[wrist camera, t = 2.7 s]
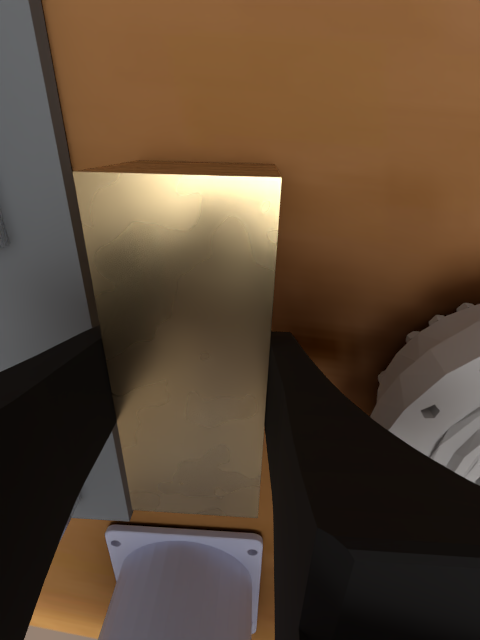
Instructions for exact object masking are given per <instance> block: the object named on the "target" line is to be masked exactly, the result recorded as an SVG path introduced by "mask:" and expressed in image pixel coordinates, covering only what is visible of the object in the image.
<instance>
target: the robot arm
mask: <svg viewBox="0 0 480 640" xmlns="http://www.w3.org/2000/svg"><path fill="white" fill-rule="evenodd" d="M116 422H117V420H116V414H115V409H114V403H113V397H112V392H111V386H110V380H109V375H108V369H107V363H106V358H105V352H104V346H103V341H102V335H101V330H100V325H98V326H96V327H93V328H91V329H89V330H86V331H84V332H82V333H80V334H78V335H76V336H74V337H72V338H70V339H68V340H66V341H64V342H62V343H60V344H58V345H56V346H54V347H52V348H50V349H48V350H46V351H44V352H42V353H40V354H38V355H36V356H34V357H32V358H29V359H27V360H25V361H23V362H21V363H19V364H16V365H14V366H12V367H10V368H8V369H6V370H3V371H1V372H0V640H24V638H25V635H26V632H27V629H28V626H29V623H30V621H31V618H32V615H33V612H34V609H35V606H36V603H37V601H38V598H39V595H40V592H41V589H42V586H43V583H44V581H45V578H46V576H47V573H48V570H49V568H50V565H51V562H52V560H53V557H54V554H55V552H56V549H57V547H58V544H59V541H60V539H61V536H62V534H63V531H64V529H65V526H66V524H67V521H68V519H69V517H70V514H71V512H72V509H73V507H74V504H75V502H76V500H77V497H78V495H79V493H80V491H81V489H82V487H83V485H84V483H85V481H86V479H87V477H88V475H89V473H90V472H91V470H92V468H93V466H94V464H95V462H96V460H97V458H98V457H99V455H100V453H101V451H102V449H103V447H104V445H105V443H106V441H107V440H108V438H109V436H110V434H111V432H112V430H113V428H114V426H115V424H116ZM264 425H265V434H266V444H267V453H268V462H269V471H270V480H271V489H272V500H273V522H274V591H275V640H480V486H479V485H477V484H475V483H473V482H471V481H469V480H468V479H466V478H464V477H462V476H460V475H459V474H457V473H455V472H453V471H452V470H450V469H448V468H446V467H445V466H443V465H441V464H440V463H438V462H436V461H434V460H433V459H431V458H429V457H428V456H426V455H424V454H423V453H421V452H420V451H418V450H416V449H415V448H413V447H412V446H410V445H409V444H407V443H406V442H404V441H403V440H401V439H400V438H398V437H397V436H395V435H394V434H393V433H391V432H390V431H388V430H387V429H385V428H384V427H383V426H381V425H380V424H379V423H377V422H376V421H375V420H373V419H372V418H371V417H369V416H368V415H367V414H366V413H364V412H363V411H362V410H361V409H360V408H358V407H357V406H356V405H355V404H354V403H352V402H351V401H350V400H349V399H348V398H347V397H346V396H344V395H343V394H342V393H341V392H340V391H339V390H338V389H337V388H336V387H335V386H334V385H333V384H332V383H331V382H330V381H329V380H328V379H327V378H326V376H325V375H324V374H323V373H322V372H321V371H320V370H319V368H318V367H317V366H316V365H315V364H314V363H313V361H312V360H311V359H310V358H309V356H308V355H307V354H306V353H305V351H304V350H303V349H302V347H301V346H300V345H299V343H298V342H297V340H296V339H295V338H294V336H293V335H292V334H291V333H290V332H272V331H271V337H270V351H269V366H268V380H267V394H266V408H265V422H264ZM105 538H106V542H107V546H108V550H109V554H110V558H111V562H112V566H113V570H114V574H115V578H116V582H117V583H116V586H115V589H114V592H113V595H112V598H111V601H110V604H109V607H108V610H107V613H106V616H105V619H104V623H103V626H102V629H101V632H100V635H99V638H98V640H251V634H253V633H255V632H256V626H257V613H258V601H259V588H260V575H261V563H262V550H263V539H262V537H261V536H260V535H258V534H255V533H244V532H228V531H213V530H197V529H182V528H166V527H150V526H135V525H119V524H113V525H110V526H109V527H108V528H107V530H106V533H105Z"/></svg>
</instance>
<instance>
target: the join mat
mask: <svg viewBox="0 0 480 640" xmlns="http://www.w3.org/2000/svg"><path fill="white" fill-rule="evenodd" d="M0 209H1V213H2V216H3V220H4V223H5V227H6V231H7V234H8V238H9V241H10V244H9V245H7V246H5V247H2V248H0V372H1V371H3V370H6V369H8V368H10V367H12V366H14V365H16V364H19V363H21V362H23V361H25V360H27V359H29V358H32V357H34V356H36V355H38V354H40V353H42V352H44V351H46V350H48V349H50V348H52V347H54V346H56V345H58V344H60V343H62V342H64V341H66V340H68V339H70V338H72V337H74V336H76V335H78V334H80V333H82V332H84V331H86V330H89V329H91V328H93V327H96V326H98V325H100V324H99V318H98V313H97V307H96V301H95V296H94V290H93V284H92V279H91V273H90V268H89V262H88V257H87V251H86V246H85V240H84V235H83V229H82V224H81V218H80V213H79V207H78V202H77V196H76V191H75V185H74V180H73V174H72V169H71V163H70V158H69V152H68V147H67V141H66V136H65V130H64V125H63V119H62V114H61V108H60V103H59V97H58V92H57V86H56V81H55V75H54V70H53V64H52V59H51V53H50V48H49V42H48V37H47V31H46V26H45V20H44V15H43V9H42V4H41V0H0ZM80 496H81V500H80V502H79V504H78V506H77V508H76V510H75V512H74V514H73V516H72V518H83V519H98V520H114V521H130V519H131V516H132V513H133V510H132V505H131V499H130V493H129V488H128V482H127V476H126V471H125V465H124V459H123V454H122V448H121V442H120V437H119V431H118V426H117V422H116V424H115V426H114V428H113V430H112V432H111V434H110V436H109V438H108V440H107V441H106V443H105V445H104V447H103V449H102V451H101V453H100V455H99V457H98V458H97V460H96V462H95V464H94V466H93V468H92V470H91V472H90V473H89V475H88V477H87V479H86V481H85V483H84V485H83V487H82V489H81V491H80Z"/></svg>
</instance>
